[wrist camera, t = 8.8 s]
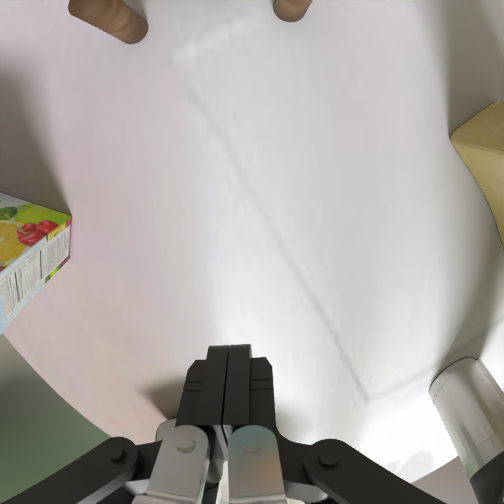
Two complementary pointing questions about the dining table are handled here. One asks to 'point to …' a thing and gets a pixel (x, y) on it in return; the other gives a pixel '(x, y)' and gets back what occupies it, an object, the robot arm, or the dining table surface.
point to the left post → (111, 18)
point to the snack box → (28, 251)
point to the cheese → (485, 156)
